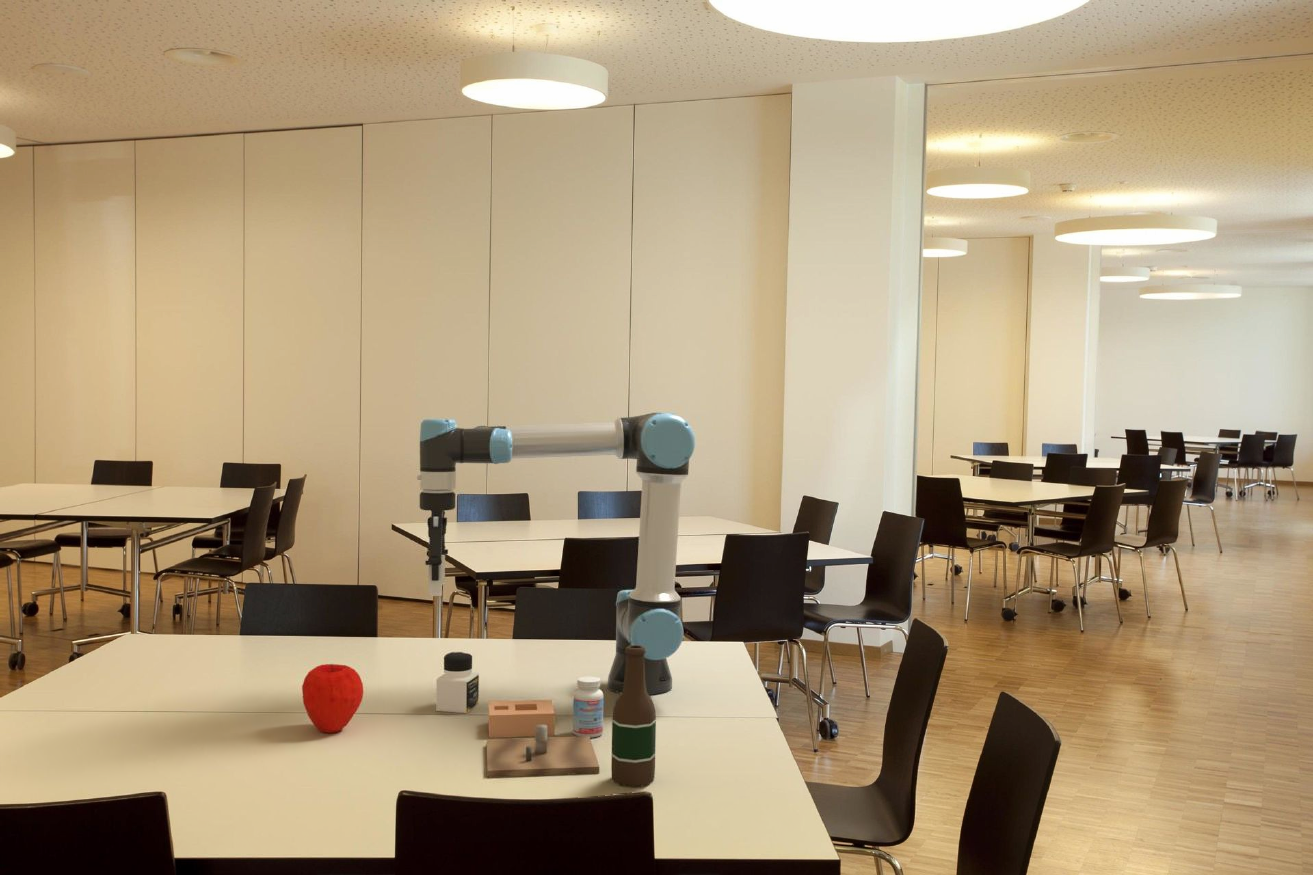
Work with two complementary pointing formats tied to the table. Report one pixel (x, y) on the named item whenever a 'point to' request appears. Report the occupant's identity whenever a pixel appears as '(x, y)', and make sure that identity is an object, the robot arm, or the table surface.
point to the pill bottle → (588, 708)
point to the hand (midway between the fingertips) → (436, 590)
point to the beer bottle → (633, 726)
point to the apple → (332, 696)
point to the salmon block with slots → (520, 718)
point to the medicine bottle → (457, 684)
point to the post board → (540, 755)
